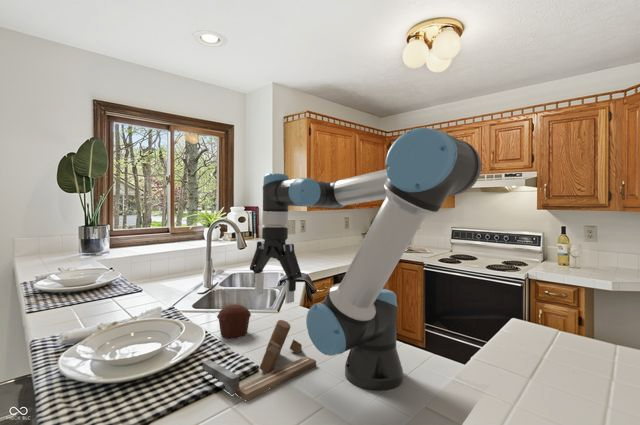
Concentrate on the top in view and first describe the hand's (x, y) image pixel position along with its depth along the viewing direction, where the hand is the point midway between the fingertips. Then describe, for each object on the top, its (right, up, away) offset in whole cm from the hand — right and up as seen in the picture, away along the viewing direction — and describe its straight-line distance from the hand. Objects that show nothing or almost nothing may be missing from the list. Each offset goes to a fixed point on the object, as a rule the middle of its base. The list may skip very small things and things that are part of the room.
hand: (273, 298), depth 97 cm
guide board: (-2, -17, -9) cm, 20 cm away
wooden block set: (+1, -18, -1) cm, 18 cm away
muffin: (-17, -18, +19) cm, 31 cm away
